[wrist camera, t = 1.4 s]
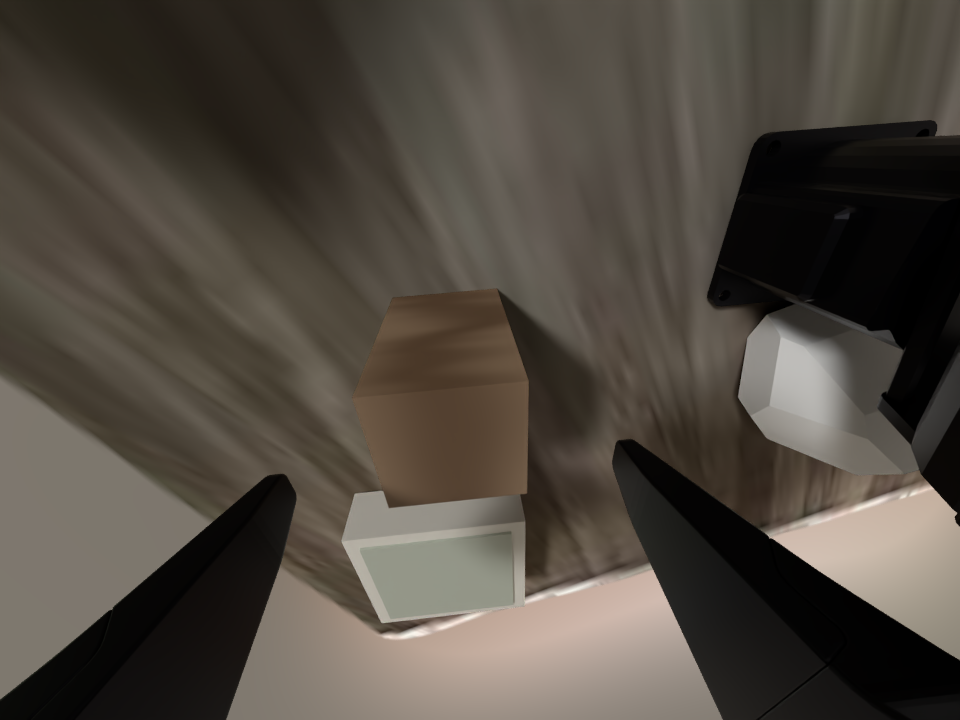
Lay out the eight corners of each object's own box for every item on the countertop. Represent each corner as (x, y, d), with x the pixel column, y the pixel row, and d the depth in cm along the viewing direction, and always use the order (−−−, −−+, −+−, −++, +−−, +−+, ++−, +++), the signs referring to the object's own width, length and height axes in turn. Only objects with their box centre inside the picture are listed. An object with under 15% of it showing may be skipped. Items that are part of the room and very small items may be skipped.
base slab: (516, 476, 21) (525, 523, 18) (517, 562, 26) (524, 609, 24) (355, 493, 21) (340, 544, 18) (388, 577, 26) (381, 625, 23)
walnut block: (496, 288, 15) (528, 381, 9) (500, 374, 17) (527, 493, 11) (392, 297, 14) (351, 398, 8) (410, 383, 17) (388, 508, 11)
